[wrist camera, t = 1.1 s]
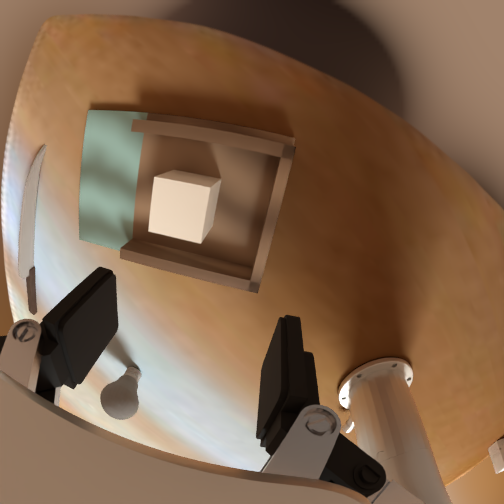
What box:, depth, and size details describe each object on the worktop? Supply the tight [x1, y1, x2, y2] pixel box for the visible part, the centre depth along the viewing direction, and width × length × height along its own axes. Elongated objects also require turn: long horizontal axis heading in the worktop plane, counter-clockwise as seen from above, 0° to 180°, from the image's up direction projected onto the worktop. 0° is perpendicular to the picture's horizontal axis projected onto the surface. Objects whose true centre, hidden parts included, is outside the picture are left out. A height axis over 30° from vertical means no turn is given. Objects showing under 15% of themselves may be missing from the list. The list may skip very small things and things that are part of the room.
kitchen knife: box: [18, 144, 47, 315], centre depth 31 cm, size 4×1×30 cm
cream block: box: [148, 170, 221, 244], centre depth 25 cm, size 5×5×5 cm
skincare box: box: [488, 438, 504, 474], centre depth 48 cm, size 8×6×15 cm
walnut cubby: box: [79, 110, 296, 293], centre depth 27 cm, size 16×23×4 cm
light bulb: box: [100, 367, 141, 420], centre depth 36 cm, size 6×6×10 cm
